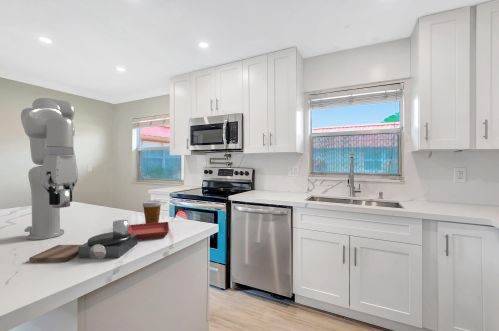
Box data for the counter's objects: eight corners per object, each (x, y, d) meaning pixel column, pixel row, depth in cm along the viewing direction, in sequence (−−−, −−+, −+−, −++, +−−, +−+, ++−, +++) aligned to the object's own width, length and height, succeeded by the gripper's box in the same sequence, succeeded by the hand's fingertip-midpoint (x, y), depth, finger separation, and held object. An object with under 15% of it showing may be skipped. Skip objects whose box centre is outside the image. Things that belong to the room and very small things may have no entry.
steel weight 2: (110, 239, 85) (109, 223, 85) (117, 235, 90) (117, 219, 90) (123, 239, 85) (123, 223, 85) (130, 235, 90) (130, 219, 90)
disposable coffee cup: (157, 226, 120) (157, 203, 120) (139, 226, 120) (138, 203, 120) (164, 221, 129) (164, 200, 129) (147, 221, 130) (147, 200, 129)
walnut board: (29, 262, 77) (29, 257, 77) (58, 248, 89) (58, 244, 89) (65, 262, 78) (65, 257, 78) (89, 248, 90) (89, 244, 90)
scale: (76, 261, 80) (76, 244, 80) (103, 245, 95) (102, 231, 95) (117, 261, 80) (117, 244, 80) (137, 245, 95) (137, 231, 95)
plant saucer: (129, 231, 113) (129, 224, 113) (168, 227, 120) (168, 221, 119) (123, 243, 96) (123, 235, 96) (169, 238, 103) (169, 231, 103)
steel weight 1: (48, 208, 81) (48, 190, 81) (59, 205, 86) (59, 189, 86) (62, 208, 81) (62, 190, 81) (73, 205, 86) (73, 189, 86)
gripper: (68, 153, 91) (68, 199, 92) (27, 151, 74) (28, 208, 75) (87, 153, 91) (87, 199, 92) (51, 151, 74) (52, 208, 75)
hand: (61, 202), depth 83 cm, fingers closed on steel weight 1, 5 cm apart
